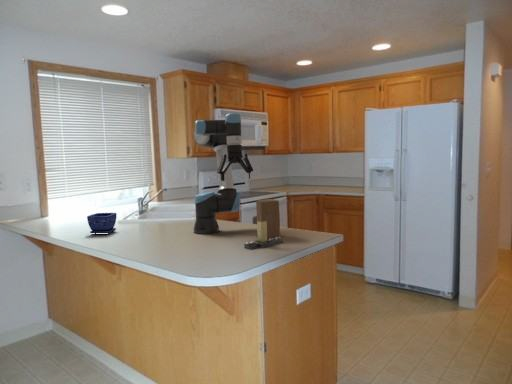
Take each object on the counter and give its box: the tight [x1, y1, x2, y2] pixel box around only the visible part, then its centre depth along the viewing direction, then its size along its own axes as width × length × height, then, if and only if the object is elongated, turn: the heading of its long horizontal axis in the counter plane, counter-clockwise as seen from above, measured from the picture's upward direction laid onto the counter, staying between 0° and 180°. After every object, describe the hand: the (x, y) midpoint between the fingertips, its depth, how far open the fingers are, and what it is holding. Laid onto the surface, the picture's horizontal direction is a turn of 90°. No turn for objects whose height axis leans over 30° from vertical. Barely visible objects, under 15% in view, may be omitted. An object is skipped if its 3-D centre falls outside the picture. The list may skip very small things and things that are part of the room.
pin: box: [256, 220, 267, 243], centre depth 189 cm, size 3×3×12 cm
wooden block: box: [255, 198, 281, 239], centre depth 208 cm, size 10×10×20 cm
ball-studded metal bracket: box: [243, 236, 284, 250], centre depth 190 cm, size 8×21×3 cm, turn 125°
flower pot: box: [86, 212, 117, 234], centre depth 237 cm, size 13×13×12 cm
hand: (236, 186), depth 198 cm, fingers open, 13 cm apart
